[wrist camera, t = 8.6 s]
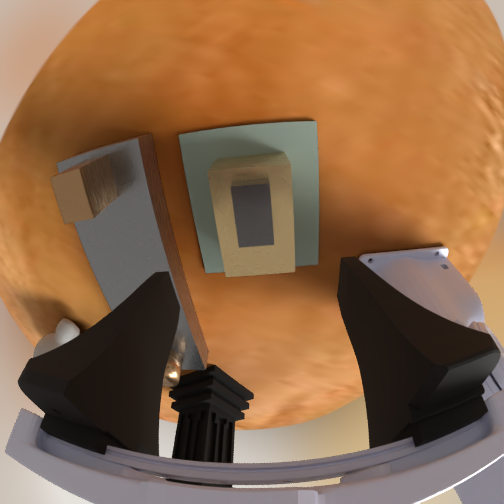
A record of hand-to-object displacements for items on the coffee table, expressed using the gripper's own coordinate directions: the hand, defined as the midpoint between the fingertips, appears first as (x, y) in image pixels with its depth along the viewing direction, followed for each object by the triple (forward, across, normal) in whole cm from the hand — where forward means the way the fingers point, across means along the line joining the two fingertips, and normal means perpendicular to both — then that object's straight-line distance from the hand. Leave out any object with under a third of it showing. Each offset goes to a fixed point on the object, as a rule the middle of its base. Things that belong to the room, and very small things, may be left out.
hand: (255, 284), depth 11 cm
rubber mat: (+9, 0, 0) cm, 9 cm away
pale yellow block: (+9, 0, 0) cm, 9 cm away
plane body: (+9, +10, +5) cm, 15 cm away
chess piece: (+10, +8, +24) cm, 27 cm away
